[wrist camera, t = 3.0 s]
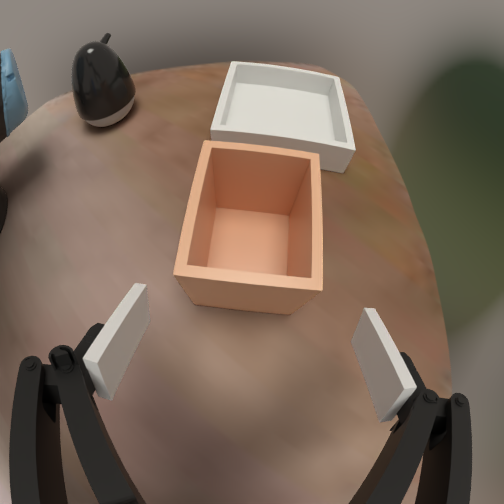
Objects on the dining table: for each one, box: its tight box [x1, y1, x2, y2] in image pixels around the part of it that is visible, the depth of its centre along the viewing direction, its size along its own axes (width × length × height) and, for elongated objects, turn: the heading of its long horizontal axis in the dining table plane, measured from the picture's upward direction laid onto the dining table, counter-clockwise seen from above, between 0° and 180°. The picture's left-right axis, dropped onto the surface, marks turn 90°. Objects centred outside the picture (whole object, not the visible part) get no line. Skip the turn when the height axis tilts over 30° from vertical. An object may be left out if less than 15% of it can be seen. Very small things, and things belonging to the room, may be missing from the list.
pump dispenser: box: [72, 33, 135, 127], centre depth 31 cm, size 10×10×15 cm
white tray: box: [210, 61, 356, 173], centre depth 36 cm, size 18×18×5 cm
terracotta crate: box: [173, 140, 323, 315], centre depth 25 cm, size 10×12×11 cm
